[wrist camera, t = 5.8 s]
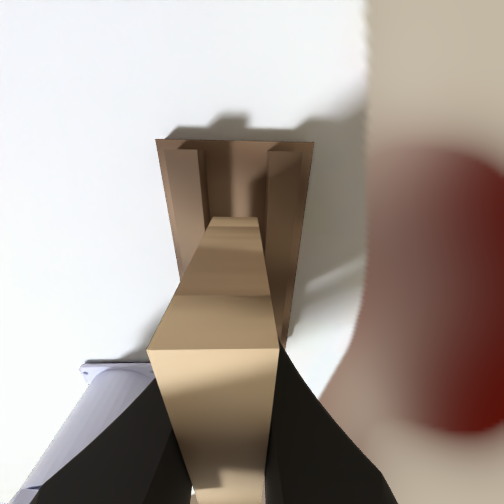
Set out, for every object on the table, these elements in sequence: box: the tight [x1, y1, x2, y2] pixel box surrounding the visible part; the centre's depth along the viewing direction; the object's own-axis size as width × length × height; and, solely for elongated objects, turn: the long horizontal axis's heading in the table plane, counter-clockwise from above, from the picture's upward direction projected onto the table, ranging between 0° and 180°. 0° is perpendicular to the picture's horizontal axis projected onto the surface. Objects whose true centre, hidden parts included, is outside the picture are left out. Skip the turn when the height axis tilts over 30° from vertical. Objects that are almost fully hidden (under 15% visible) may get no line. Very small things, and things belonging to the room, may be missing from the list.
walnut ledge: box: [155, 139, 314, 349], centre depth 15 cm, size 18×9×3 cm, turn 179°
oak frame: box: [146, 217, 279, 504], centre depth 9 cm, size 10×2×8 cm, turn 179°
